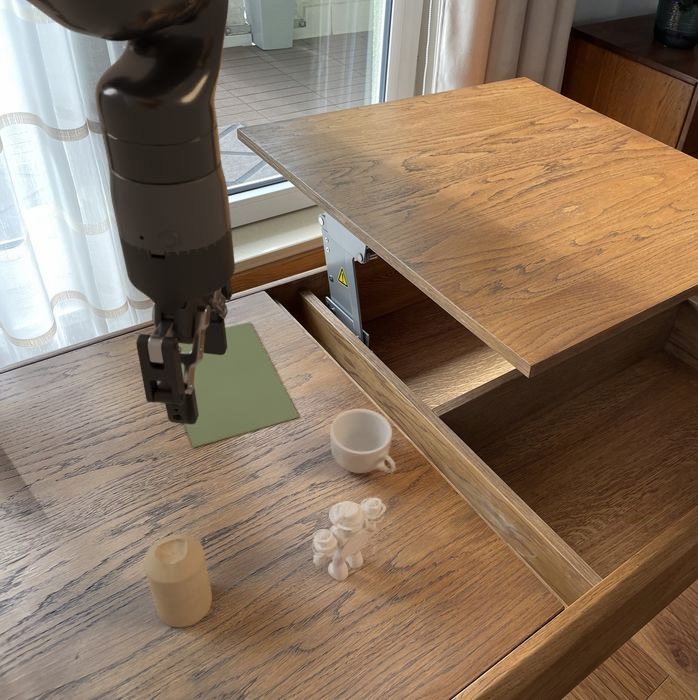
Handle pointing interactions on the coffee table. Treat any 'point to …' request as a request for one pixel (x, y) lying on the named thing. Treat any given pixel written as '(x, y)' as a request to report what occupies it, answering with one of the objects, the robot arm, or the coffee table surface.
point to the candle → (178, 580)
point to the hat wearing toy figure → (346, 535)
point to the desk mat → (237, 390)
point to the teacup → (361, 441)
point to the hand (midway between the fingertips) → (200, 384)
